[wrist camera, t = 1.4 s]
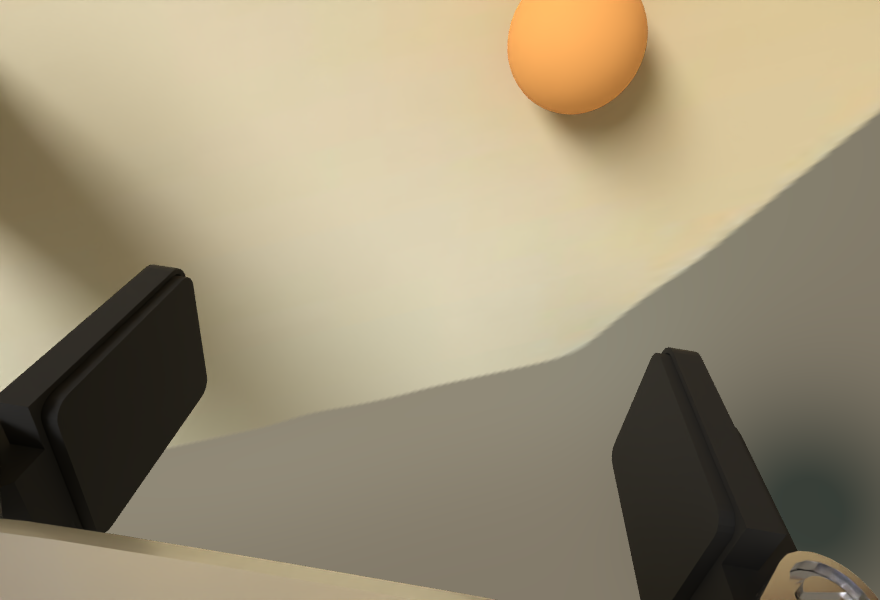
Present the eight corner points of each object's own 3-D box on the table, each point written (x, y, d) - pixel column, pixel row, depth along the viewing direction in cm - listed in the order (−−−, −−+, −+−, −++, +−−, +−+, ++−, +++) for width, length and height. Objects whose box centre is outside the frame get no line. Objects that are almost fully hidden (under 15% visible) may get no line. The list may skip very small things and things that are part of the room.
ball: (555, 122, 29) (570, 158, 24) (479, 32, 27) (479, 50, 22) (654, 36, 26) (695, 56, 21) (580, -71, 24) (605, -77, 19)
